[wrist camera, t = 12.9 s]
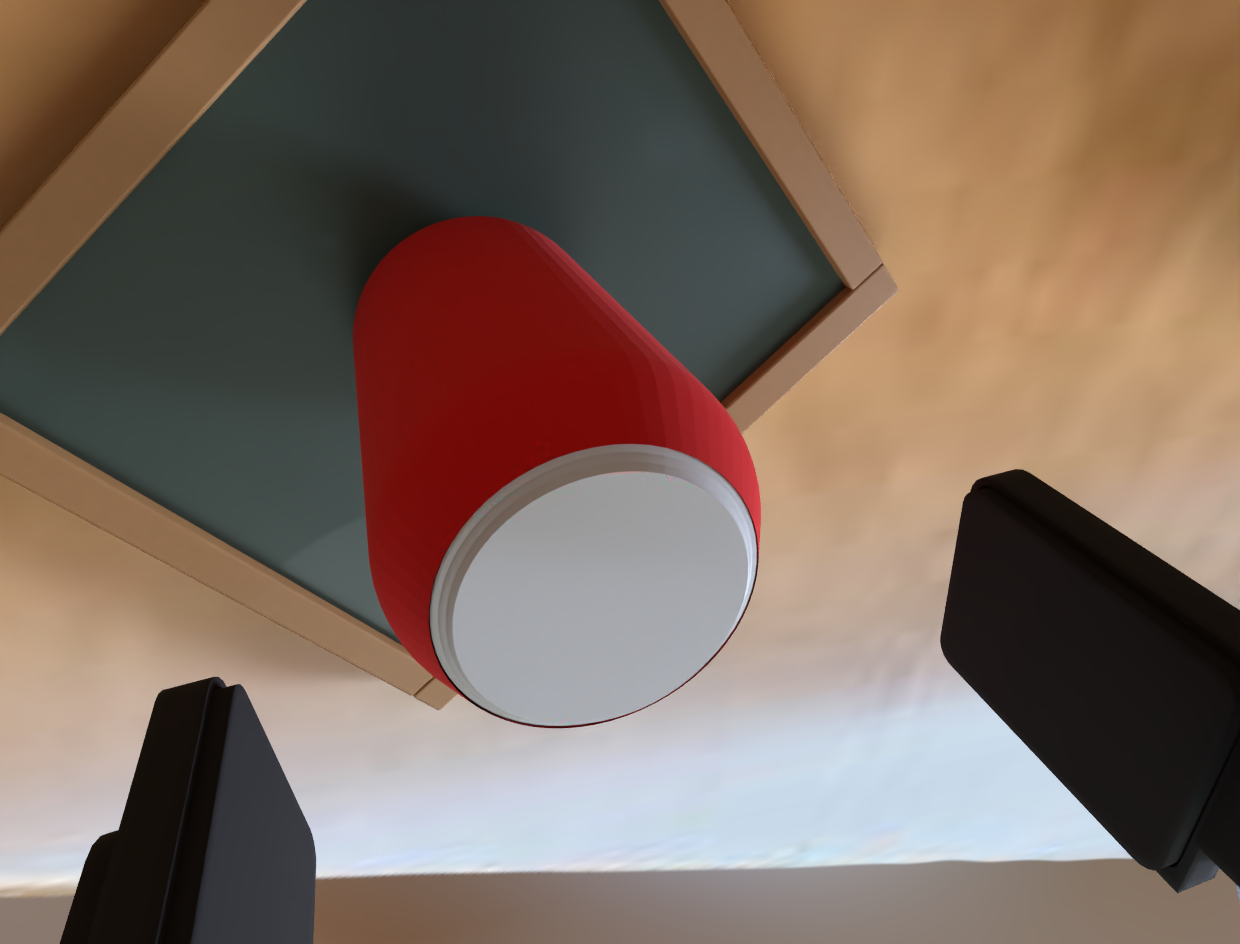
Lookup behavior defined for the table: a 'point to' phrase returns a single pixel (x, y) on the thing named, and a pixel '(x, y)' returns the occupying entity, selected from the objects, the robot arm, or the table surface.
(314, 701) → the table surface
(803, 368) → the chalkboard
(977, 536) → the robot arm
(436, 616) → the beverage can
